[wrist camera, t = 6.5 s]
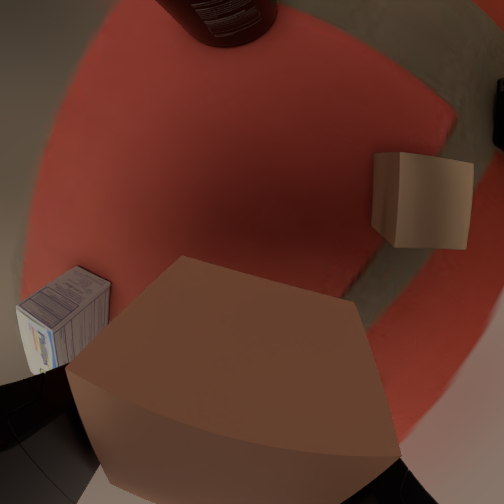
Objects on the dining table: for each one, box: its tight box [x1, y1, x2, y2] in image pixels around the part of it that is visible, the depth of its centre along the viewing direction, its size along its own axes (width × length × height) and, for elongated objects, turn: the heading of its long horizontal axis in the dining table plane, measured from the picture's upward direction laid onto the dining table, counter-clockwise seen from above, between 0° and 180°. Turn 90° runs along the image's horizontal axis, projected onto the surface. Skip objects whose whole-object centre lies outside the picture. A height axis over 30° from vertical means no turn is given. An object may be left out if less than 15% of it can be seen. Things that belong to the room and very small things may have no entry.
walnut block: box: [371, 152, 474, 250], centre depth 15 cm, size 5×5×5 cm
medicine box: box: [16, 266, 111, 375], centre depth 20 cm, size 8×4×9 cm, turn 161°
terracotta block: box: [65, 255, 401, 504], centre depth 6 cm, size 5×5×5 cm
